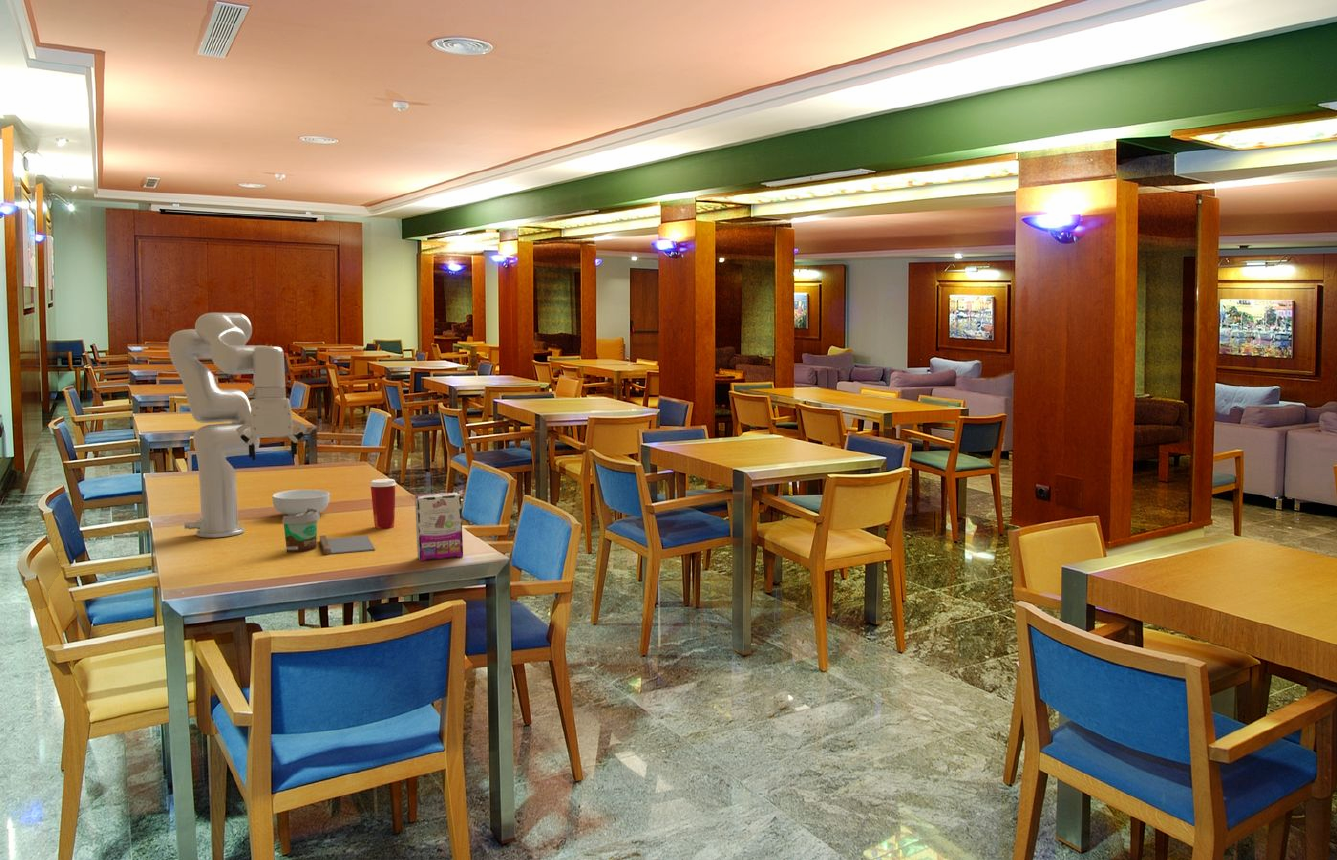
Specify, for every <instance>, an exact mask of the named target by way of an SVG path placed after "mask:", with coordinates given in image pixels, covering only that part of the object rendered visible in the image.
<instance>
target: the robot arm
mask: <svg viewBox="0 0 1337 860" xmlns="http://www.w3.org/2000/svg"><path fill="white" fill-rule="evenodd" d="M252 325H253V324H252V323H251V321H250V319H249V318H248V317H247V316H246V314H243V313H241V312H207V313H204V314H202V315H200V316H199V317H198V318H197V320H196V321H195V324H194V328H189V329H181V330H178V331H175V332H174V333H172V335H171V336H170V337H169V340H168V353H169V358H170V360H171V363H172V365H173V367H174V370H175V371H176V373H177V374H178V376H179V378H180V379H181V382H182V385H183V389H184V392H185V395H186V399H187V404H188V406H189V407H188V408H189V410H190V413H191V416H192V418H193V419H194V421H195V422H197V423H201V424H206V425H203V426H200V427H199V428H197V430H195V432H194V433H193V447H194V451H195V455H196V460H197V466H198V467H197V468H198V480H199V498H200V519H199V520H197V519H196V521H184V529H187V530H196V529H197V530H196V532H195V534H196V535H195V536H196V537H200V538H205V539H206V538H213V539H214V538H224V537H232V536H237V535H240V534H243V533H244V532H245V527H244V526H242V525H239V516H238V515H239V514H238V513H239V512H238V496H237V495H238V494H237V479H236V478H237V477H236V474H237V473H236V471H235V468H234V467H233V465H232V464H231V463H230V462H229V461H228V460H227V458H229V457H236V456H247V455H249V456H248V457H249V458H251V459H252V461H255V460H256V452H257V451H258V450H259V447H260V442H261V441H260V440H261V439H262V438H267V439H268V438H280V437H281V438H283V437H284V438H285V437H288V438H289V439H290V440H291V441H290V456H291V458H292V459H295V458H296V456H295V455H298V442H299V441H300V440H301V439H302V438H303V436H304V435H305V433H306V431H307V430H308V429H307V428H308V426H307V425H306V424H304V423H302V422H300V421H297V420H296V419H293V413H292V411H293V410H292V406H291V401H290V398H287V393H286V375H285V374H286V373H285V353H284V350H283V348H282V347H281V346H276V345H272V346H271V345H270V346H269V345H262V344H258V345H252V344H250V345H247V343H248V342H249V341H250V339H251V337H252V334H253V327H252ZM199 359H211V361H212V363H213V365H214V366H215V367H217V369H219V370H221V371H222V372H223V373H225V374H228V375H249V374H253V383H254V385H253V386H254V388H252V389H248V395H249V396H253V397H254V399H253V398H252V399H251V403H250V400H249V397H248V395H247V394H246V393H245V392H244V391H243V390H240V389H237V388H224V389H221V388H219V387H218V384H217V381H216V378H215V375H214V373H213V372H212V371H211V369H209V367H207V366H206V365H205V364H204V363H203V362H200V360H199ZM227 422H229V423H227ZM211 423H212V424H211ZM215 423H216V424H215ZM294 426H296V427H297V428H299V429H300V430H299V432H298V433H297V434H296V435H295V434H293V433H294ZM260 438H261V439H260Z"/></svg>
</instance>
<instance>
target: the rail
mask: <svg viewBox="0 0 1337 860" xmlns="http://www.w3.org/2000/svg"><path fill="white" fill-rule="evenodd" d="M327 539H328V538H327V536H326V535H325V534H324V535H319V543H320V546H321V548H322V551H323V555H327V556H328V555H331V552H330V547H329V544H328V541H327Z"/></svg>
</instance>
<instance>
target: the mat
mask: <svg viewBox="0 0 1337 860" xmlns="http://www.w3.org/2000/svg"><path fill="white" fill-rule="evenodd" d="M327 541H328V544H329V547H330V555H337V554H338V555H339V554H348V553H349V554H351V553H358V552H359V553H361V552H371V551H376V548H375V547H374V545H373V542H372V541H371V540H370V538H369V536H368V535H361V536H348V537H337V538H327Z"/></svg>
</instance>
